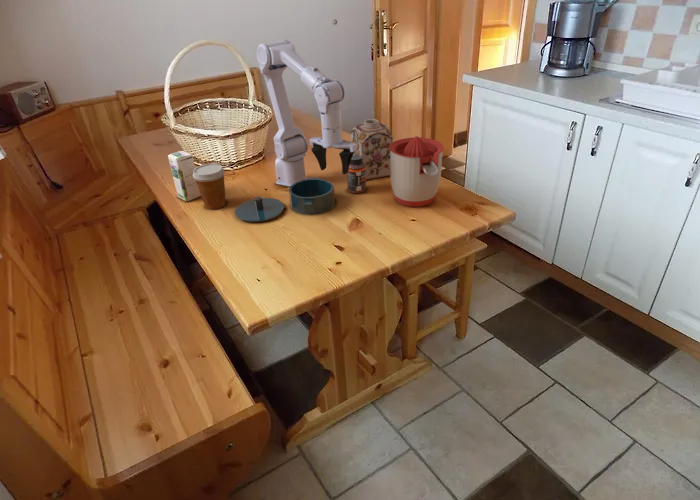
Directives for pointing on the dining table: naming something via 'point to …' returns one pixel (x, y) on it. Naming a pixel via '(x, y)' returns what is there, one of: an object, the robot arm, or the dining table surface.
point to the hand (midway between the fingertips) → (334, 171)
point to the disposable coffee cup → (211, 184)
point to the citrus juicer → (415, 170)
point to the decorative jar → (373, 147)
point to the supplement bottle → (356, 175)
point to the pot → (312, 196)
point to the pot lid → (259, 209)
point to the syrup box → (184, 175)
